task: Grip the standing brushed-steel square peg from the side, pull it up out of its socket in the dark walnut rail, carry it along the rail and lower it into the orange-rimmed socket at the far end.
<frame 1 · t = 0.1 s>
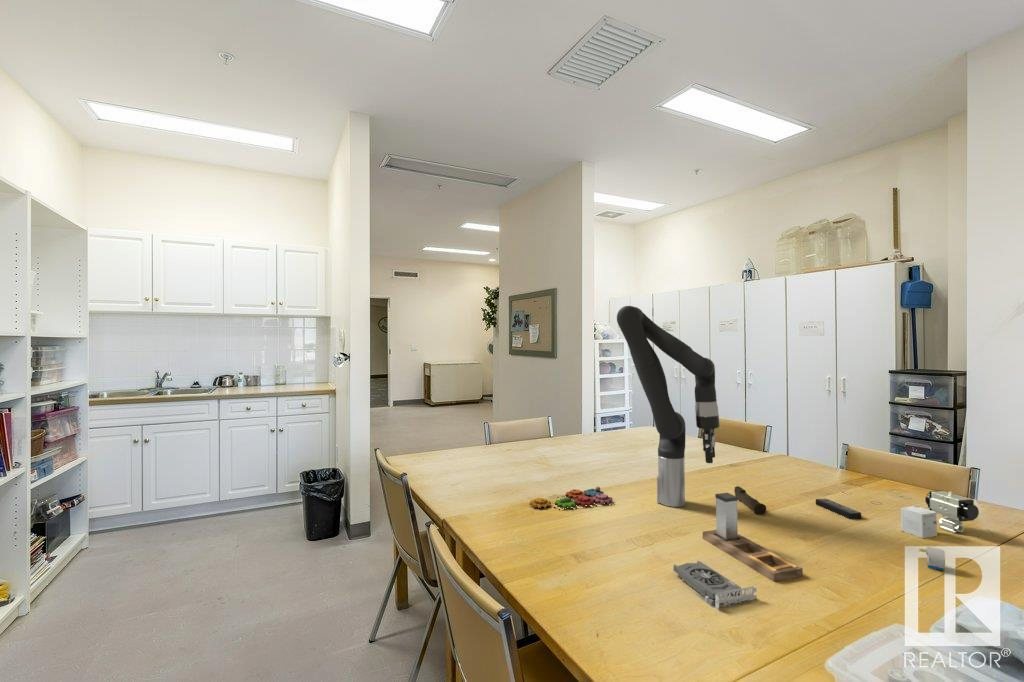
hand: (710, 460, 161), 17 cm above the table, tool pointing down, fingers open, 8 cm apart
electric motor: (931, 567, 119), on the table
pneumatic valve: (950, 531, 141), on the table
graphics card: (712, 589, 110), on the table
hand tool: (746, 506, 165), on the table
rail: (748, 555, 126), on the table
peg: (727, 543, 134), resting in rail
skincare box: (918, 534, 139), on the table
multiport hub: (837, 512, 158), on the table
gear puzzle: (568, 503, 170), on the table
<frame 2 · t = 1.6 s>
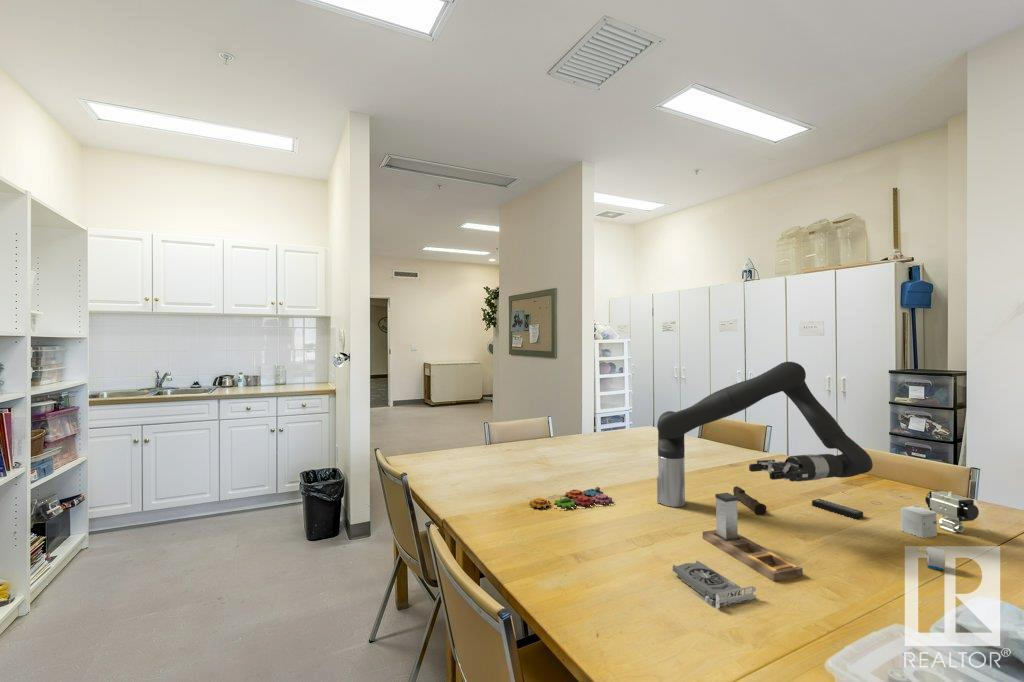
hand: (759, 471, 136), 20 cm above the table, tool horizontal, fingers open, 8 cm apart
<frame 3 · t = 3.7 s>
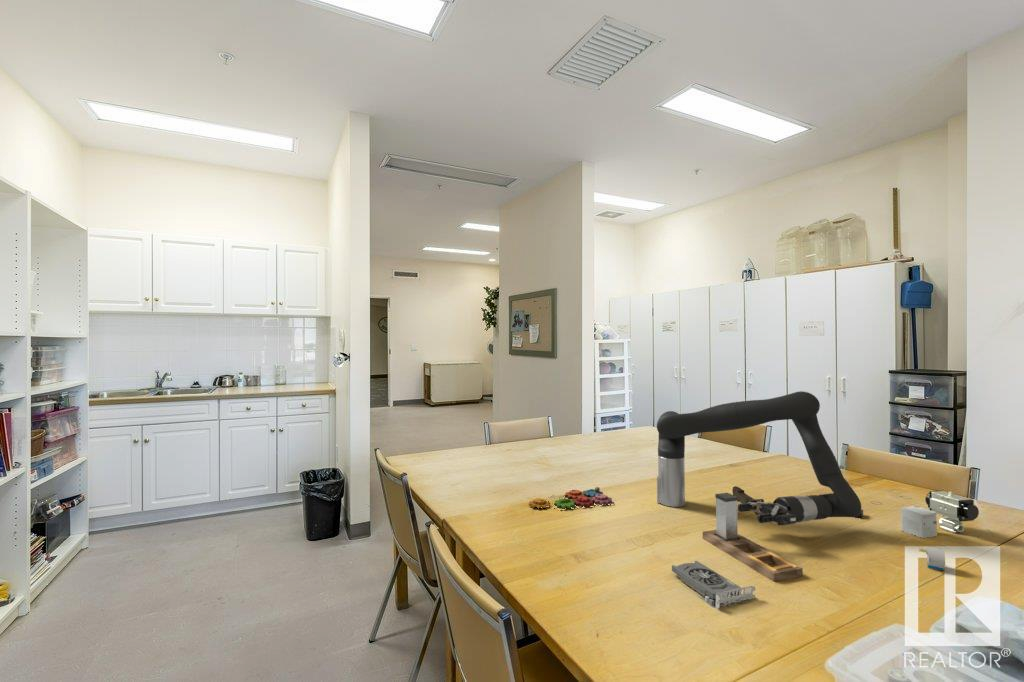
hand: (748, 513, 135), 8 cm above the table, tool horizontal, fingers open, 8 cm apart
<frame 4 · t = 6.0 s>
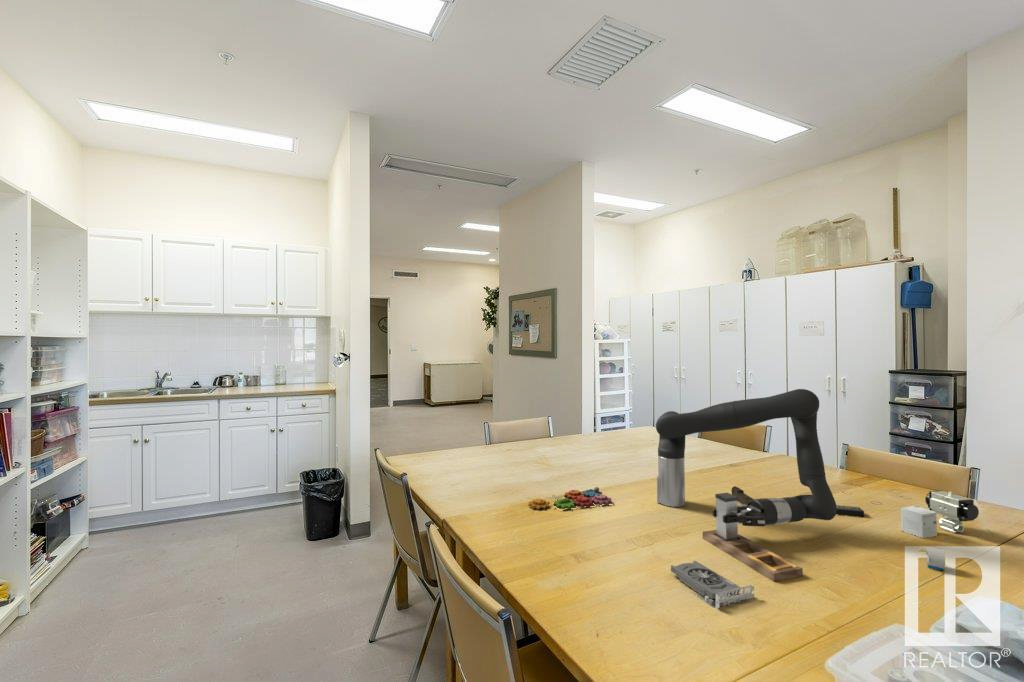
hand: (718, 516, 133), 8 cm above the table, tool horizontal, fingers closed on peg, 4 cm apart
peg: (727, 543, 134), resting in rail, touching gripper
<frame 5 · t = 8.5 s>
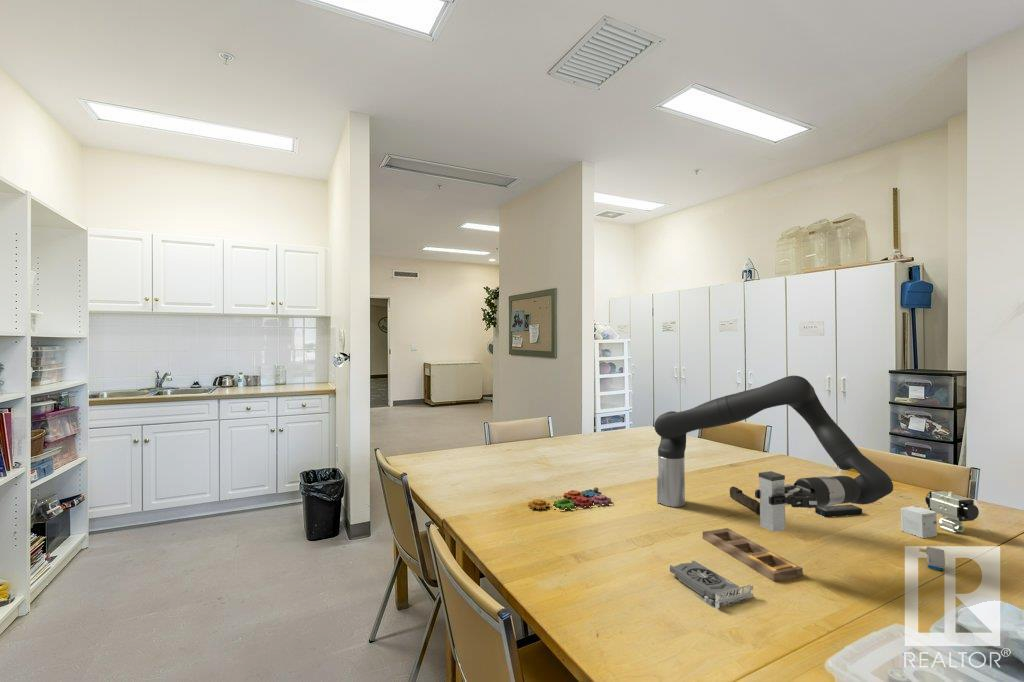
hand: (763, 497, 118), 19 cm above the table, tool horizontal, fingers closed on peg, 4 cm apart
peg: (772, 528, 119), point 11 cm above the table, touching gripper
when the fingers open (9 cm above the table, at t = 11.2 s): peg stays where it is, resting in rail.
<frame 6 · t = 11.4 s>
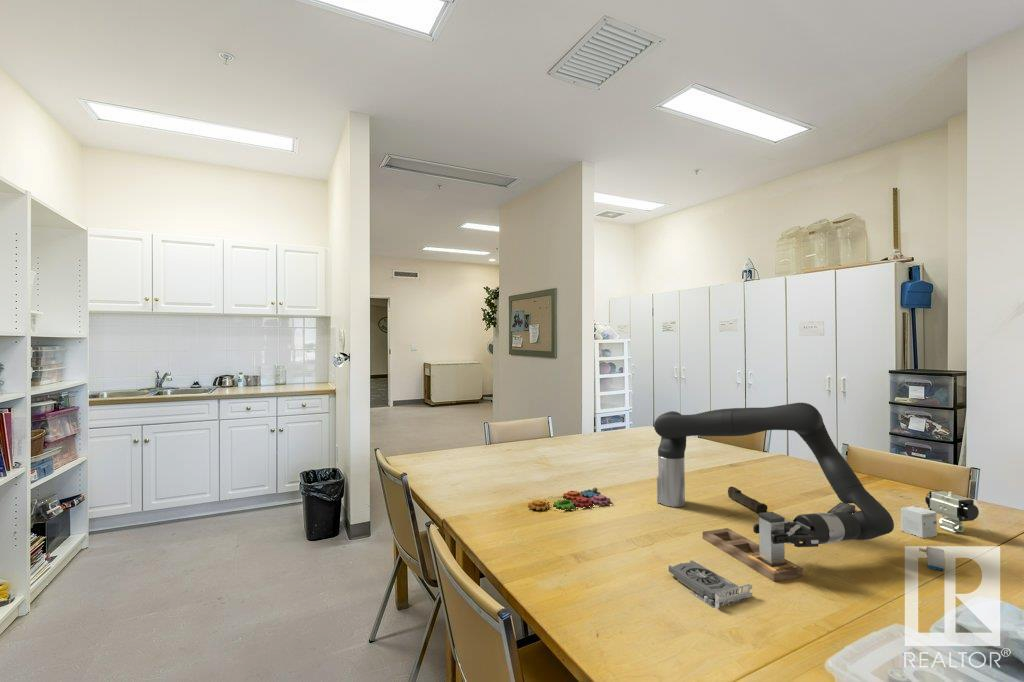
hand: (763, 534, 118), 9 cm above the table, tool horizontal, fingers open, 6 cm apart
peg: (772, 569, 119), resting in rail
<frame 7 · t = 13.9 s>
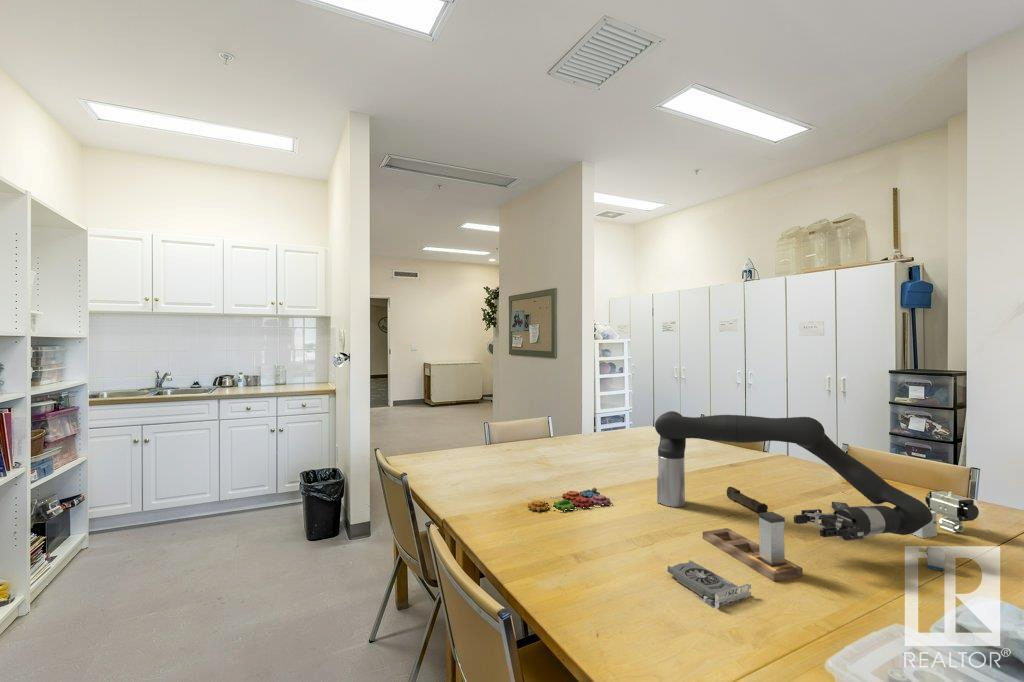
hand: (807, 525, 121), 10 cm above the table, tool horizontal, fingers open, 8 cm apart
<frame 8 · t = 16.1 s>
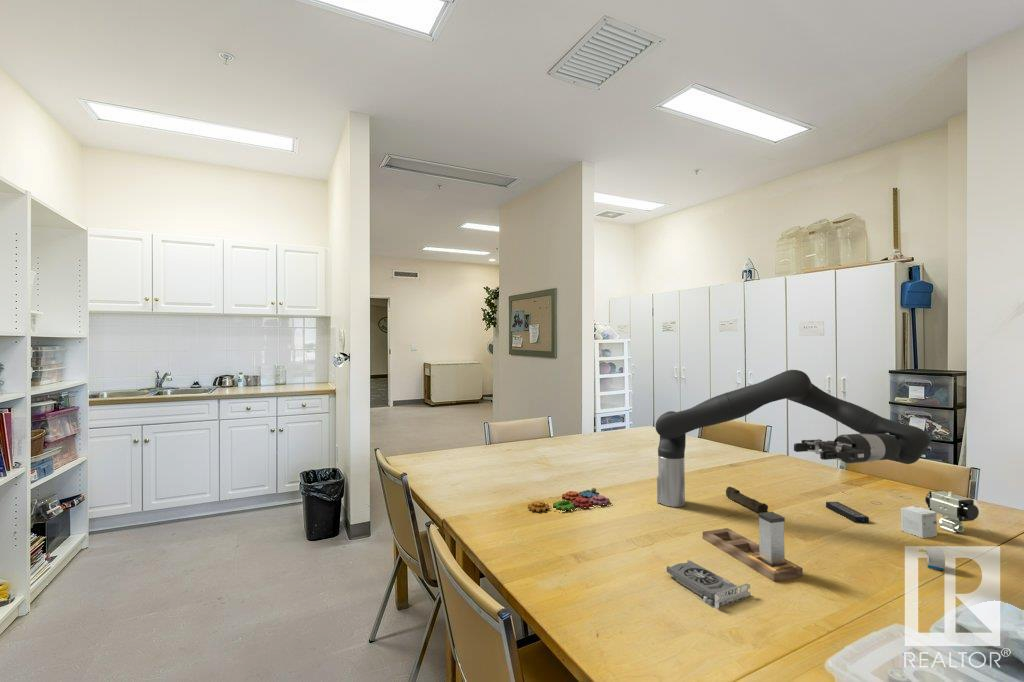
hand: (807, 451, 121), 30 cm above the table, tool horizontal, fingers open, 8 cm apart
at the end: peg 0.1 cm from the target spot on the rail, point 0.0 cm above the rail's base; peg tilted 0°; the gripper is holding nothing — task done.
